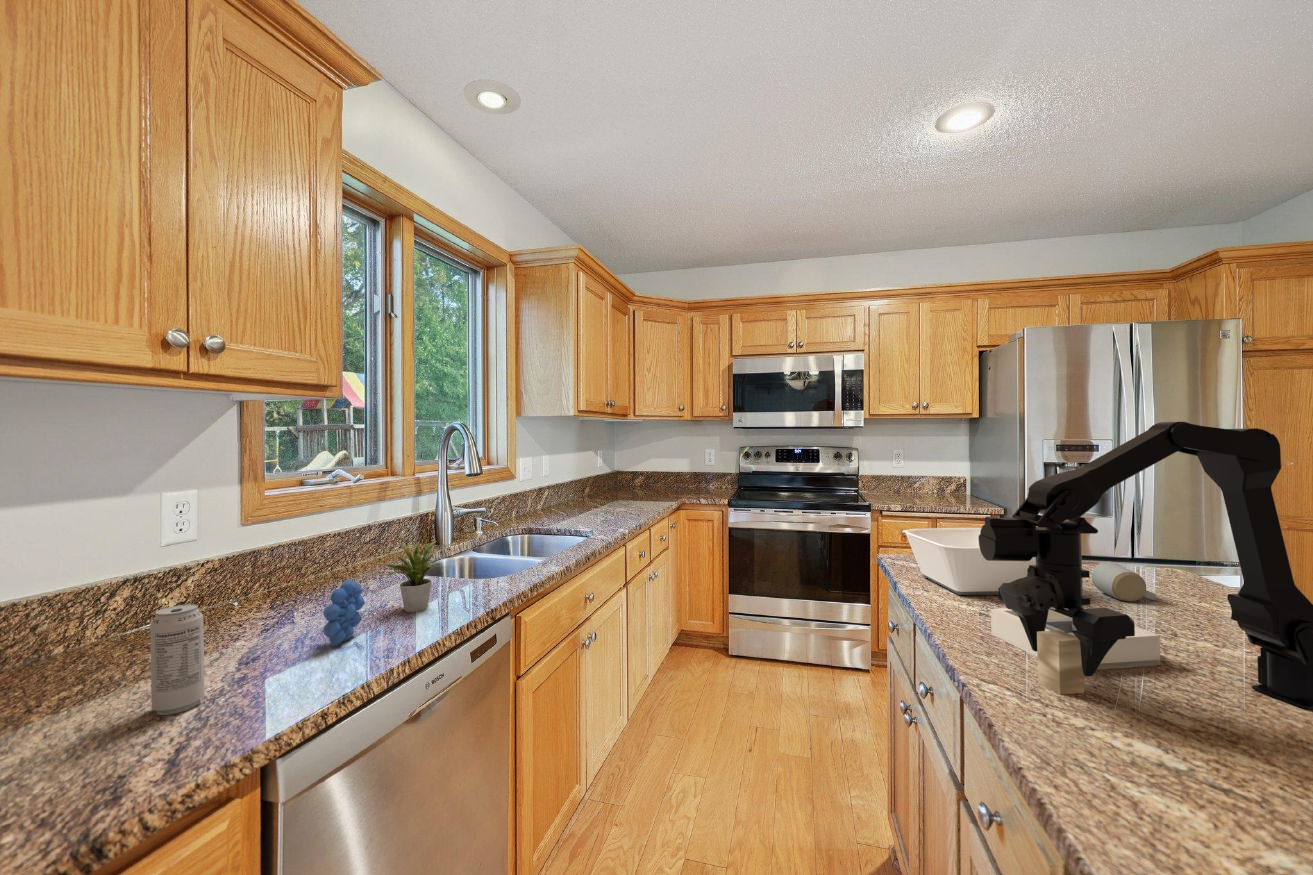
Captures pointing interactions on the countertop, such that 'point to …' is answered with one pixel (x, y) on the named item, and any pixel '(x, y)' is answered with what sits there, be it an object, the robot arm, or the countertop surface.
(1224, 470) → the robot arm
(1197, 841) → the countertop surface
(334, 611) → the grapes
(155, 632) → the energy drink can
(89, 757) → the countertop surface
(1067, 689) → the wooden block
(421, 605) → the house plant
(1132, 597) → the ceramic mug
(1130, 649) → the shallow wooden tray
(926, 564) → the tub
